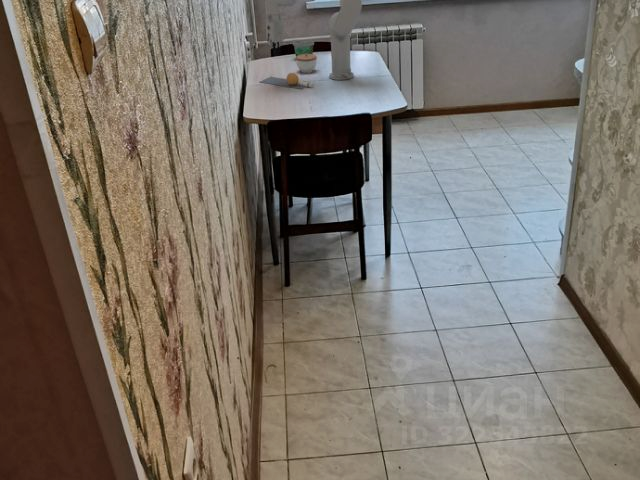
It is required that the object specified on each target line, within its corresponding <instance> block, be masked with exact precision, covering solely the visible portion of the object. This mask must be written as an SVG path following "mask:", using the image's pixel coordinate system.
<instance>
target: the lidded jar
mask: <svg viewBox="0 0 640 480" xmlns="http://www.w3.org/2000/svg"><path fill="white" fill-rule="evenodd" d="M317 57H318V56H317V55H316V54H314V53H313V54H307V53H305V54H302V55H298V56H297V57H296V56H295V59H296V65H297V68H298V70H299V71H300V72H301V73H306V74H308V73H312V72H313V71H314V70H315V69H316V67H317Z"/></svg>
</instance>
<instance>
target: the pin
mask: <svg viewBox="0 0 640 480" xmlns="http://www.w3.org/2000/svg"><path fill="white" fill-rule="evenodd" d="M297 85H300V86H306V87H307V88H313V87H314V83H313V82H306V81H301V80H298V82H297ZM306 87H305V88H306Z"/></svg>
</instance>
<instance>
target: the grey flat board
mask: <svg viewBox="0 0 640 480" xmlns="http://www.w3.org/2000/svg"><path fill="white" fill-rule="evenodd" d="M259 83H262V84H268V85H272V86H278V85H279V87H284V86H285V87H286V88H291V89H297V90H302V89H304V88H306V86H300V85H297V84H295V85H290V84H288V83H287V80H286V78H281V77H276V76H270V77H267V78H265V79H262V80H260V81H259Z"/></svg>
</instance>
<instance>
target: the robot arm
mask: <svg viewBox="0 0 640 480" xmlns="http://www.w3.org/2000/svg"><path fill="white" fill-rule="evenodd" d="M297 1H298V0H264V5H265V16H266V18H265V19H266V24H265V35H266V42H268V44H267V45H268V46H271V48H272V53H273V56H274V57H275V56H276V57H279V56H281V47H282V46H281V45H282V42H284V40H285V39H286V28H285V21H284V19H283V16H282V15H283V13H282V7H293V6H295V5H296V3H297ZM339 6H340V9H339V11H337V12H335V13H333V14H332V16H331V17H330V19H329V32H330V46H331V47H330V48H331V49H330V51H331V53H330V54H331V55H330V56H331V73H329V74H328V77H329V79H332V80H335V81H345V80H351V79H352V78H354V76H355V74H354V72H352V69H351V36H350V34H351V33H352V31H353V30H354V28H355V25H356V23H357V21H358V19H359V16H360V14H361V11H362V7H363V1H362V0H339Z"/></svg>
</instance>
